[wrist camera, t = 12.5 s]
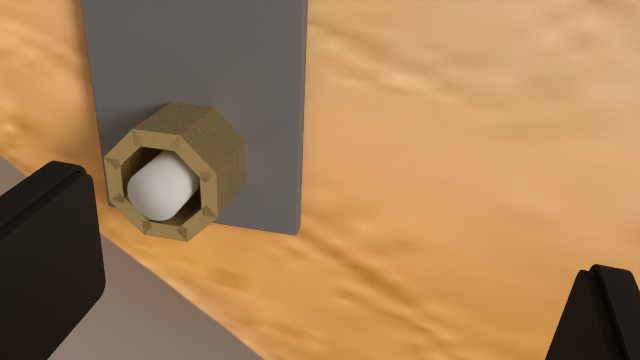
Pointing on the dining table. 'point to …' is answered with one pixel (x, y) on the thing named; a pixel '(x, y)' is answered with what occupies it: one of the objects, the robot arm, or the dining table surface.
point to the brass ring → (196, 151)
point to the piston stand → (206, 94)
